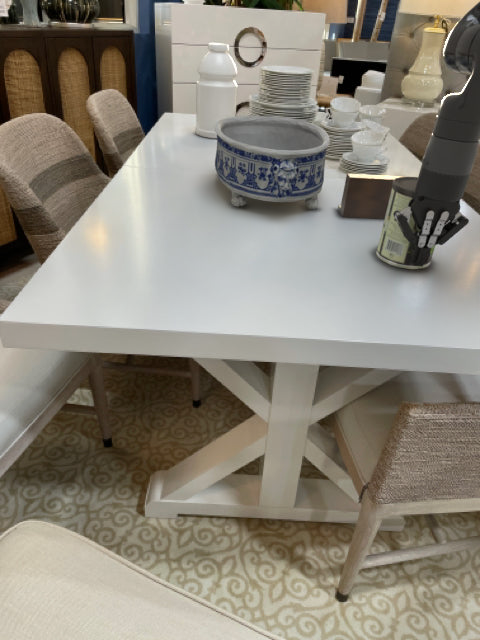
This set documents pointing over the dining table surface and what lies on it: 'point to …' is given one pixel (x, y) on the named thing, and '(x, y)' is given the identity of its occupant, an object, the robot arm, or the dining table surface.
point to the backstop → (366, 196)
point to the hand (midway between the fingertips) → (416, 264)
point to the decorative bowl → (271, 159)
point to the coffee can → (392, 239)
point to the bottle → (215, 89)
